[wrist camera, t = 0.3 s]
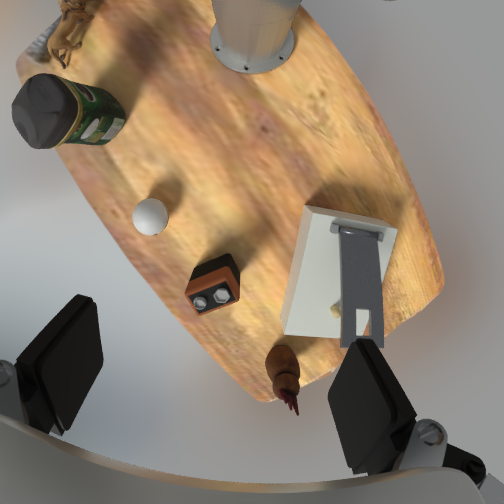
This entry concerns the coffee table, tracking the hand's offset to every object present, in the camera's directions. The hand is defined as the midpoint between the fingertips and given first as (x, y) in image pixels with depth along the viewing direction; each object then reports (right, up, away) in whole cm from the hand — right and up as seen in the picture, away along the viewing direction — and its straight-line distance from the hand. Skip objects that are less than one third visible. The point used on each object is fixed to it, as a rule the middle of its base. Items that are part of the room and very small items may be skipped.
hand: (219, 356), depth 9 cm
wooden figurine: (+7, -16, +44) cm, 48 cm away
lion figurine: (-30, +43, +22) cm, 57 cm away
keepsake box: (+15, +1, +38) cm, 41 cm away
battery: (-5, +1, +38) cm, 38 cm away
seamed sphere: (-13, +9, +34) cm, 38 cm away
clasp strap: (+15, -1, +26) cm, 30 cm away
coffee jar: (-23, +25, +28) cm, 45 cm away
